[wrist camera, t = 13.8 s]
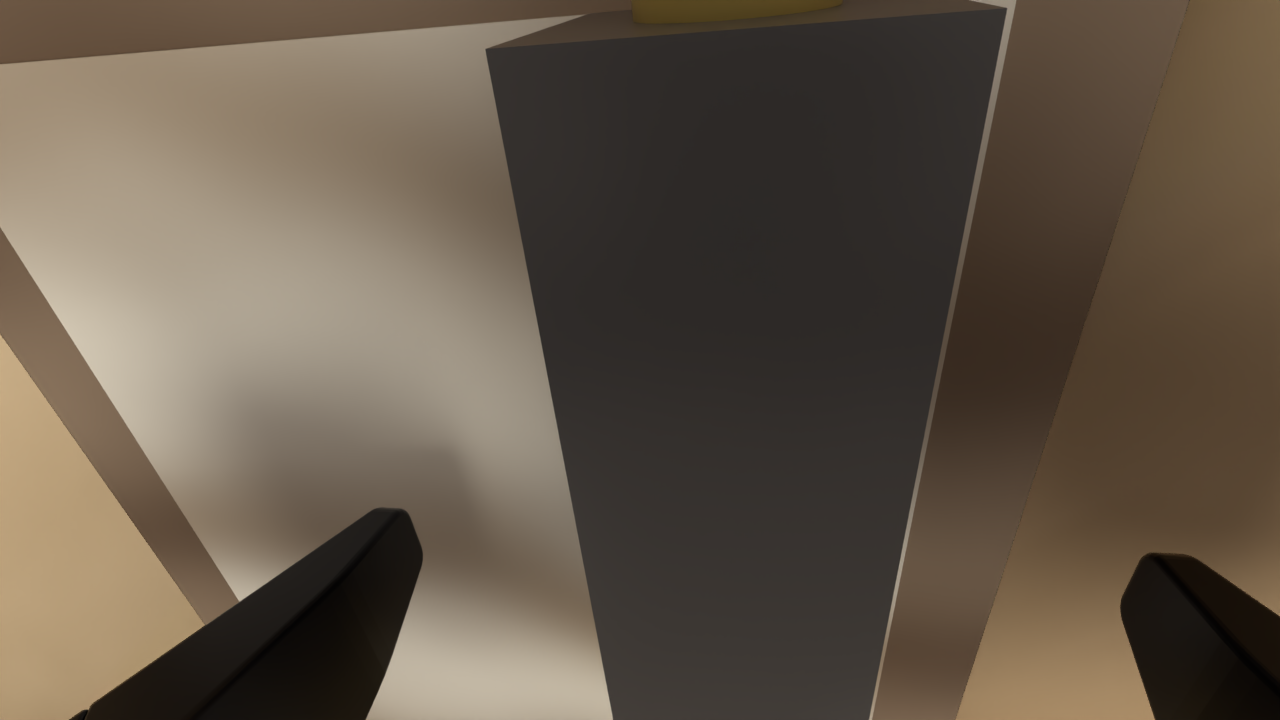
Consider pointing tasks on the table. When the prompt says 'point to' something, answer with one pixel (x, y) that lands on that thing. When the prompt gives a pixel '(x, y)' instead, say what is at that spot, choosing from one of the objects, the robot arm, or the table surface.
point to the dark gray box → (744, 322)
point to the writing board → (469, 313)
